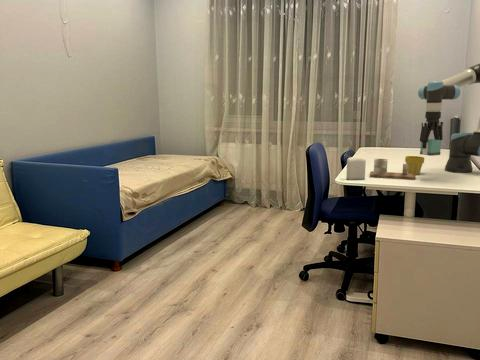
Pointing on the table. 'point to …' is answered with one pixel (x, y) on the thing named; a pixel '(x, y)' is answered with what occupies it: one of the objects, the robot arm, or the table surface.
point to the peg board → (381, 172)
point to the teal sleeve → (432, 147)
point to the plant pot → (414, 164)
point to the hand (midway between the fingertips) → (430, 154)
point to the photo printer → (356, 168)
